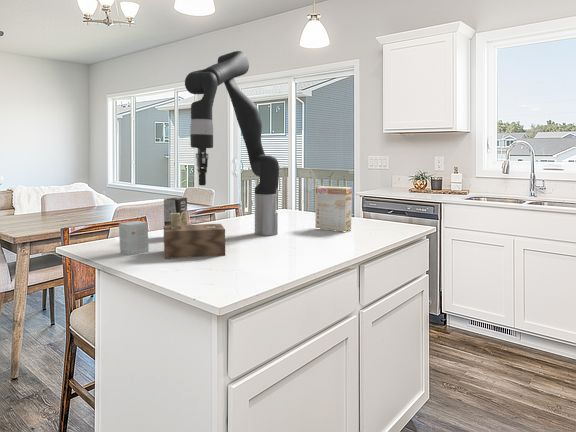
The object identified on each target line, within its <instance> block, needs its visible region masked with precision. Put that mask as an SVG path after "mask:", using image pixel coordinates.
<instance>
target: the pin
mask: <svg viewBox="0 0 576 432" xmlns="http://www.w3.org/2000/svg"><path fill="white" fill-rule="evenodd" d="M171 229H180V213H171Z"/></svg>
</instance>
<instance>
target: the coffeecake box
mask: <svg viewBox="0 0 576 432" xmlns="http://www.w3.org/2000/svg"><path fill="white" fill-rule="evenodd" d="M352 206H353V187H351V186H349V187H348V186H329V185H328V186H327V185H320V186H316V187H315V228H320V229H327V230H326V231H328V230H336V231H335V232H337V231H347V230H350V229H351V230H352V208H353V207H352ZM315 228H314V229H315ZM347 232H348V231H347Z"/></svg>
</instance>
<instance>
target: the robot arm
mask: <svg viewBox="0 0 576 432" xmlns="http://www.w3.org/2000/svg"><path fill="white" fill-rule="evenodd" d="M249 68H250V63H249V59H248V57H247V55H246V54H245V53H244V52H243V51H241V50H236V51H231V52H229V53H225V54H222V55H219V56H218V58H217V63H215V64H214V63H213V64H212V65H209V66H208V67H206V68H204V69H198V70H195V71H191V72H189V73H188V74H187V75H186V77H185V79H184V86H185V89H186V91H187V92H188V93H190V94H192V95H202V98H201V99H199V100H196V101H194V102H192V103H191V104H190V105H191V106H190V126H189V127H190V131H189V132H190V147H191V148H194V149H197V153H195V159H196V167H197V169H196V171H197V173H198V185H199V186H206V183H207V182H206V181H207V178H206V175H207V172H208V166H209V165H208V163H209V162H208V160H209V153H207V149H213V148H214V125H213V124H214V123H213V108H214V107H213V106H214V101H215V98H216V93H217V90H218V86H220V85H222V84H224V86H225V89H226V91H227V94H228V95H229V98H230V101H231V105H232V107H233V111H234V114H235V117H236V121H237V123H238V126H239V129H240V132H241V134H242V138H243V142H244V145H245V148H246V152H247V155H248V161H249V165H250V169H251V171H252V173H253V174H254V175H255V176H256V177H258V178H259V183H258V185H256V186H255V187H254V234H255V235H256V236H273V235H278V232H279V230H278V229H279V228H278V223H279V222H278V221H279V220H278V219H279V218H278V217H279V216H278V215H279V214H278V211H277V190H278V187H279V179H280V165H279V161H278V159H277V157H275V156H273V155H267V154H266V153H265V151H264V148H263V144H262V143H263V142H262V128H263V125H262V124H263V123H262V120H261V116H260V112H259V109H258V107H257V105H256V103H254V102H253V101H252V100H251V99H250V98H249V97H248V96H247V95H245V94H244V93H243V91H242V90H241V89H240V88H239V86H238V84H237V81H236V80H235V78H239V77H241V76H244V75H245V74H247V73H248V72H249Z"/></svg>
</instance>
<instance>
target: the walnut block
mask: <svg viewBox="0 0 576 432" xmlns="http://www.w3.org/2000/svg"><path fill="white" fill-rule="evenodd" d="M208 226H215V228H206V227H208ZM163 251H164V254H163V255H164V256H163V257H164V259H177V258H179V259H180V258H197V257H198V258H201V257H218V256H226V229H225V227H224V226H223V225H222V223H205V224H204V223H202V224H201V223H200V224H188V225H180V229H171V225H169V226H164V225H163Z"/></svg>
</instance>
